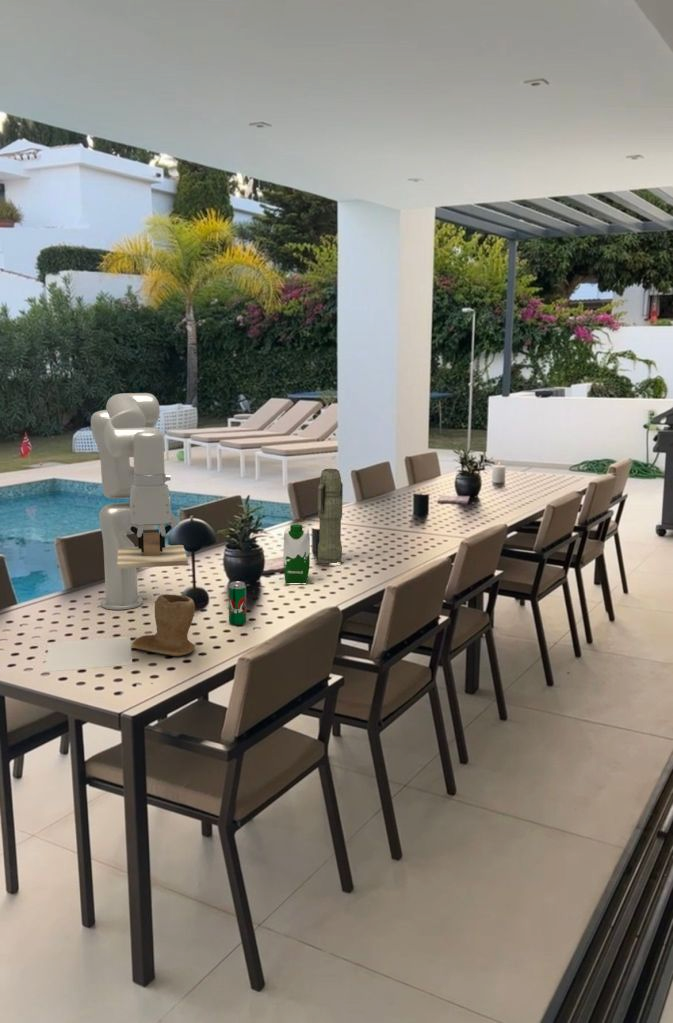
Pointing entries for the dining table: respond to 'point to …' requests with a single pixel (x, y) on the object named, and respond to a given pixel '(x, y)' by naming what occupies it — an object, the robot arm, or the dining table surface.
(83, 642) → the grey mat
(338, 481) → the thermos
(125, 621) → the dining table surface
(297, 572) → the milk carton
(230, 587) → the soda can
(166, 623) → the brown boot-shaped piece
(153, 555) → the birch lid
